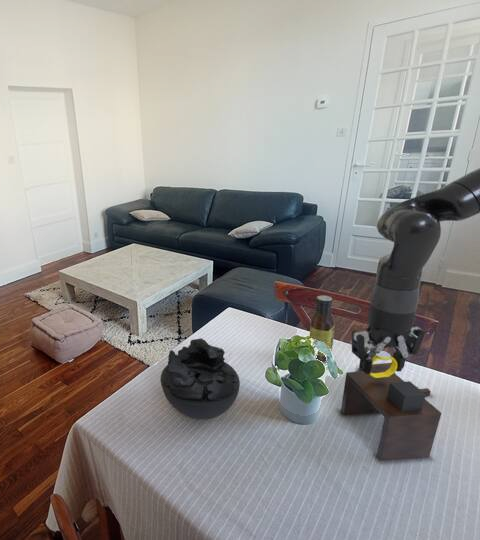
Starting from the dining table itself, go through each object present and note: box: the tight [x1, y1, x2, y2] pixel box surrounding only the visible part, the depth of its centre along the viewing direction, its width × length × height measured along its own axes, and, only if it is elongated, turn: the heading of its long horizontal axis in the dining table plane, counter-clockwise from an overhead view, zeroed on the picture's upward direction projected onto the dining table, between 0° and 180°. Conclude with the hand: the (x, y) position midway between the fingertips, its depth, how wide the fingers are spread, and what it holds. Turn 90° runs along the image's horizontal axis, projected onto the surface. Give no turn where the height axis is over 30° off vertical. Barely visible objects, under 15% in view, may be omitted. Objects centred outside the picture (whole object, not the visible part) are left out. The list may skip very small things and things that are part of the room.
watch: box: [370, 350, 397, 378], centre depth 75 cm, size 6×3×6 cm, turn 87°
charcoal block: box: [387, 380, 426, 412], centre depth 69 cm, size 4×4×4 cm
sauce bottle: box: [309, 294, 336, 361], centre depth 102 cm, size 7×6×20 cm
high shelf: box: [340, 369, 442, 462], centre depth 75 cm, size 10×14×12 cm
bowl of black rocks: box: [160, 337, 241, 420], centre depth 87 cm, size 20×20×19 cm
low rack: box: [358, 362, 432, 397], centre depth 91 cm, size 10×12×2 cm
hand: (380, 370), depth 76 cm, fingers closed on watch, 6 cm apart
